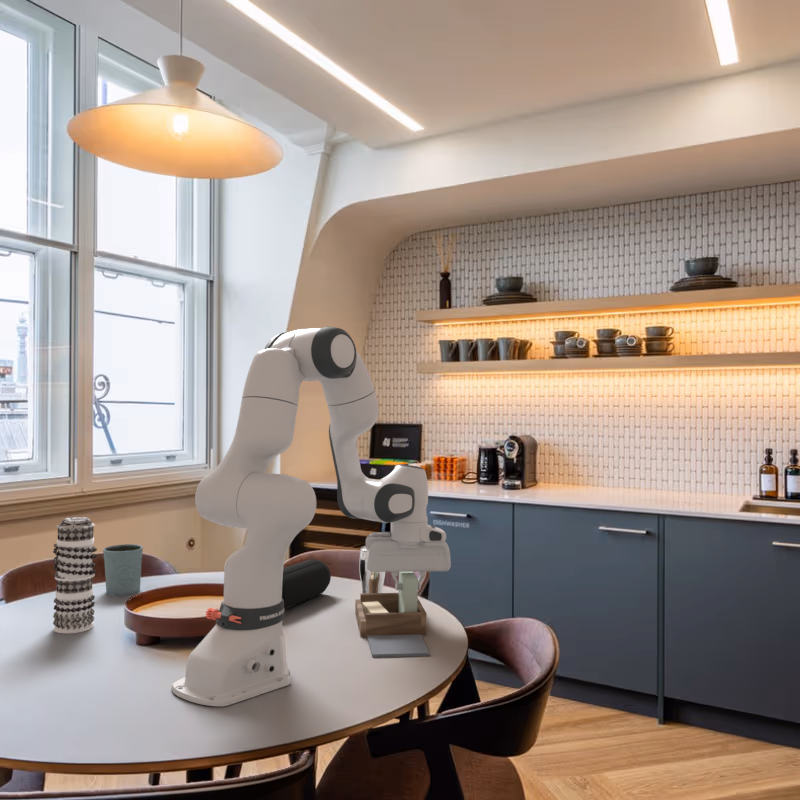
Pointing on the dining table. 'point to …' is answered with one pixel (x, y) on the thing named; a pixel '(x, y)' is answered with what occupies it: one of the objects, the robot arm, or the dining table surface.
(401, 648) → the slate mat
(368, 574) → the beer glass
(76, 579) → the decorative candle
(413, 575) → the sage panel
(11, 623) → the dining table surface
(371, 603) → the offcut top
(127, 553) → the green cup
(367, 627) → the open wooden box
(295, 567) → the portable speaker
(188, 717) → the dining table surface
